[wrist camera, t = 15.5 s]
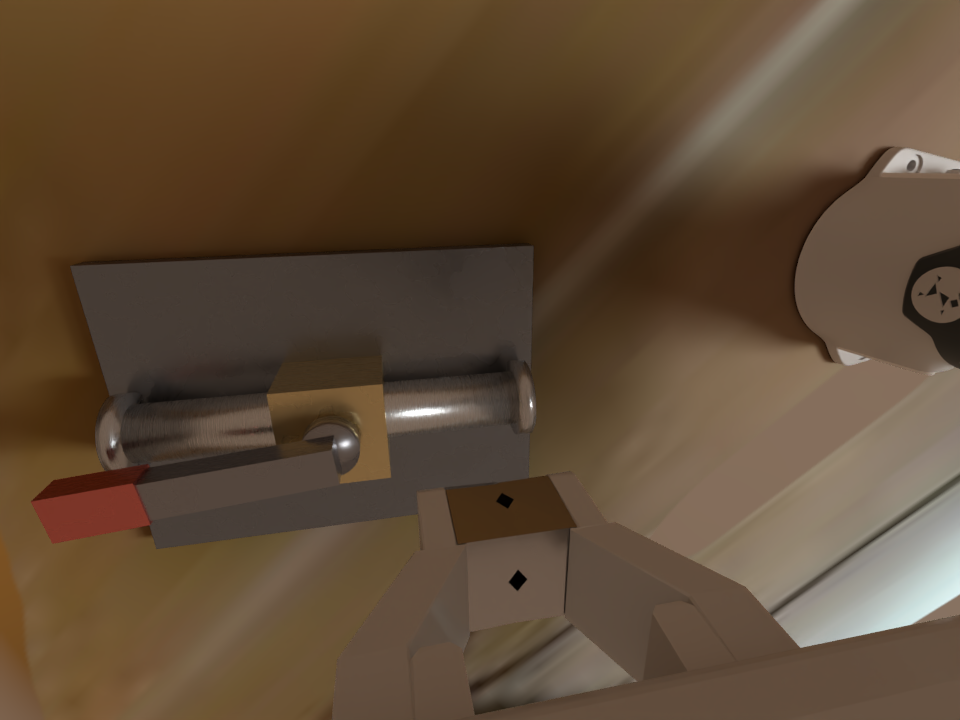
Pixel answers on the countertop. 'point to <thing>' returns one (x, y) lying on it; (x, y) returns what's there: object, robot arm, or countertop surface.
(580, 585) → the robot arm
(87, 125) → the countertop surface
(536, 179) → the countertop surface
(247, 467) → the lever
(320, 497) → the valve assembly
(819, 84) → the countertop surface
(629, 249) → the countertop surface
